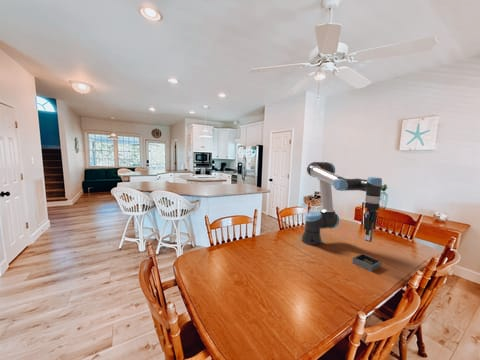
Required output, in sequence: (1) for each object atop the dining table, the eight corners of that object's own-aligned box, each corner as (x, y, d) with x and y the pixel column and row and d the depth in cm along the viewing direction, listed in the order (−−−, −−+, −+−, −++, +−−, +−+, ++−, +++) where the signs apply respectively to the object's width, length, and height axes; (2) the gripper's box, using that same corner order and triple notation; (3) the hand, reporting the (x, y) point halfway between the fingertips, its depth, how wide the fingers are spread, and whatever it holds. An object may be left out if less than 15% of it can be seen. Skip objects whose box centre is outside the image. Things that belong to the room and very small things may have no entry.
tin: (352, 262, 131) (352, 257, 130) (361, 258, 137) (362, 253, 136) (371, 271, 121) (372, 266, 120) (380, 266, 127) (381, 261, 127)
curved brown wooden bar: (365, 240, 127) (366, 221, 126) (366, 239, 129) (368, 221, 127) (370, 242, 125) (372, 223, 124) (371, 241, 126) (373, 222, 125)
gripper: (372, 204, 117) (368, 243, 120) (384, 202, 125) (380, 239, 127) (359, 202, 123) (355, 239, 126) (371, 200, 131) (368, 235, 134)
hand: (368, 239), depth 127 cm, fingers closed on curved brown wooden bar, 2 cm apart
